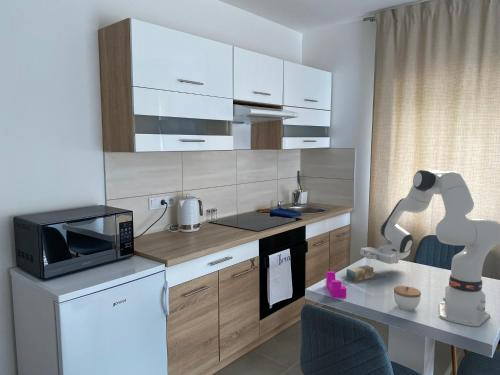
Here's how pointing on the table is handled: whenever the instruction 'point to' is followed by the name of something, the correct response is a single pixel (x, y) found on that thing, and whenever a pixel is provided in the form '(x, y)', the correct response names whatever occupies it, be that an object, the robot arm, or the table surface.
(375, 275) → the mat
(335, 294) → the toy block
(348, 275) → the tall block
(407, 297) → the lidded jar
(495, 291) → the table surface
